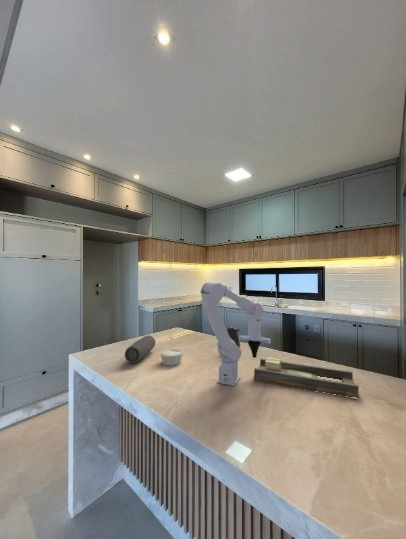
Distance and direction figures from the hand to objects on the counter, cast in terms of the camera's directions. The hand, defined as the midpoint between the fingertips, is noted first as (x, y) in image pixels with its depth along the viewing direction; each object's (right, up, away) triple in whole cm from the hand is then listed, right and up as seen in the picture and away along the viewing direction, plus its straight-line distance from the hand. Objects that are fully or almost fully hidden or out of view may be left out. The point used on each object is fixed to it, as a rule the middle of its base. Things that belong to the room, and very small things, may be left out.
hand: (254, 356), depth 114 cm
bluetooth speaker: (-59, -8, +20) cm, 62 cm away
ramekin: (-41, -8, +13) cm, 44 cm away
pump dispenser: (-8, -8, +28) cm, 30 cm away
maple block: (+8, -5, -4) cm, 10 cm away
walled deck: (+19, -7, -9) cm, 22 cm away
